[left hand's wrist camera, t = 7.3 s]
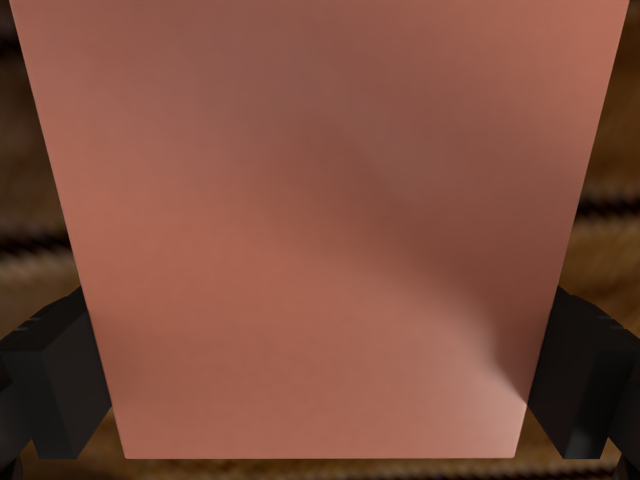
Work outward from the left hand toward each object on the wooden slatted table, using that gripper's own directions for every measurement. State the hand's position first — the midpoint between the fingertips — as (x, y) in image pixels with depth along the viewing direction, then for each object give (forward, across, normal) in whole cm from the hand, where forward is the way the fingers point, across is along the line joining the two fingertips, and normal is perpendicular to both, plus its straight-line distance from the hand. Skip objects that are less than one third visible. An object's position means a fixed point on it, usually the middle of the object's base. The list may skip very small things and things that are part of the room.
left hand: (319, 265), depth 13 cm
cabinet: (+4, 0, -7) cm, 8 cm away
